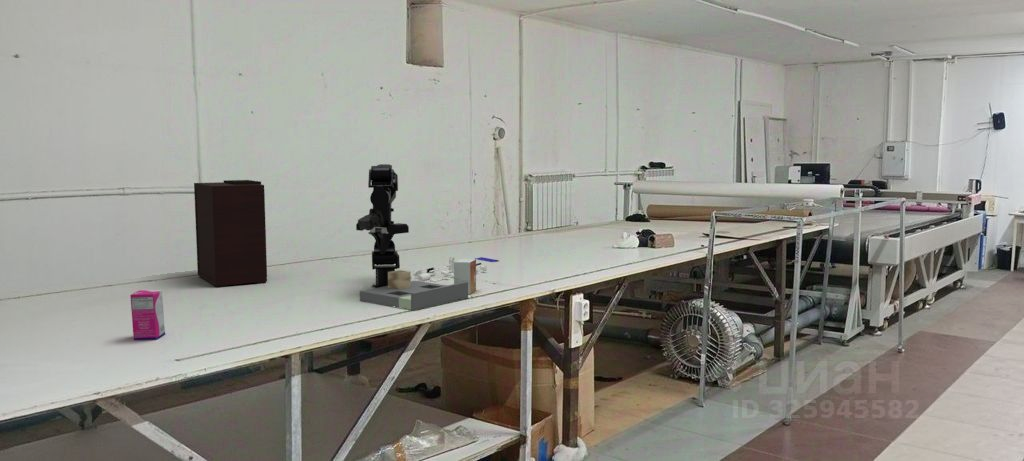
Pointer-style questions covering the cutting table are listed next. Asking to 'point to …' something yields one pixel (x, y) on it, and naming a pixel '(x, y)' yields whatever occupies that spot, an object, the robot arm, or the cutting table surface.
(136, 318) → the supplement box
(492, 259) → the booklet
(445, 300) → the board
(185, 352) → the cutting table surface
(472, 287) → the small box
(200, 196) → the tall dark brown box
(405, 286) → the maple block
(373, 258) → the robot arm
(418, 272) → the miniature set
